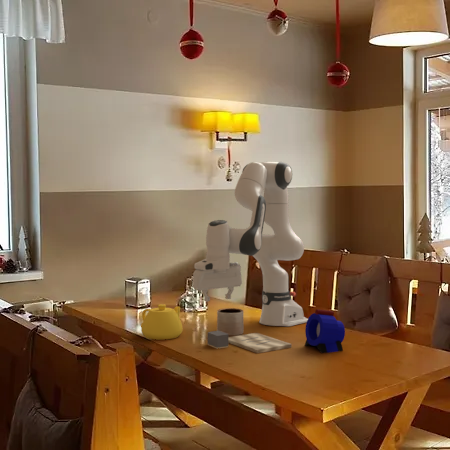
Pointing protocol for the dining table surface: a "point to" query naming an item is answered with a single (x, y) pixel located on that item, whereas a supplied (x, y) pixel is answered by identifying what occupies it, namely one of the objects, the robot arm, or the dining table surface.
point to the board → (258, 342)
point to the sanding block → (218, 339)
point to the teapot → (161, 323)
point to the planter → (230, 321)
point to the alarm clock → (324, 331)
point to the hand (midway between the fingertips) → (217, 300)
